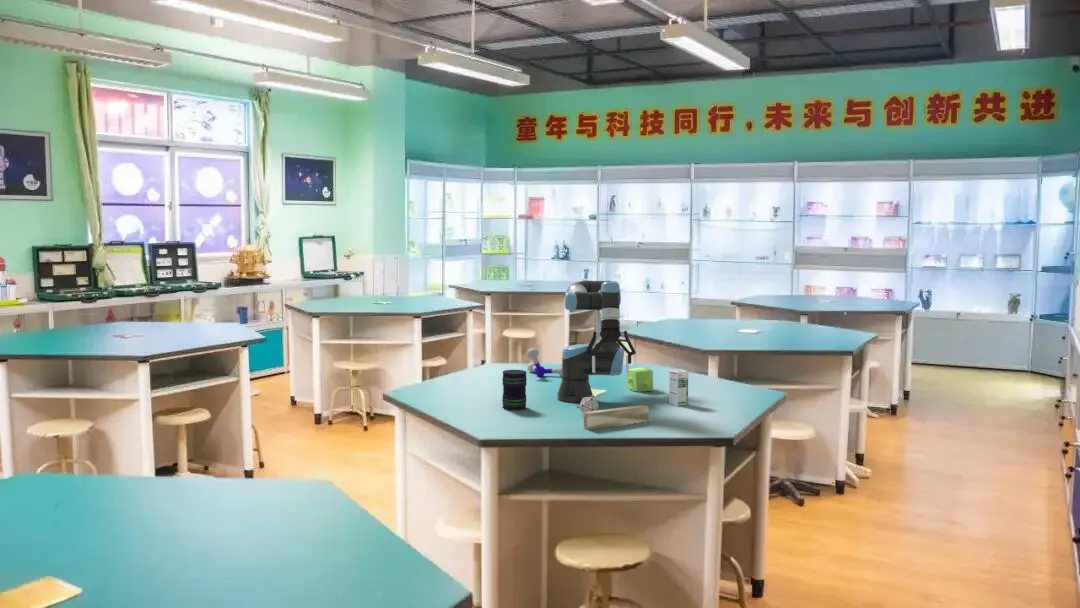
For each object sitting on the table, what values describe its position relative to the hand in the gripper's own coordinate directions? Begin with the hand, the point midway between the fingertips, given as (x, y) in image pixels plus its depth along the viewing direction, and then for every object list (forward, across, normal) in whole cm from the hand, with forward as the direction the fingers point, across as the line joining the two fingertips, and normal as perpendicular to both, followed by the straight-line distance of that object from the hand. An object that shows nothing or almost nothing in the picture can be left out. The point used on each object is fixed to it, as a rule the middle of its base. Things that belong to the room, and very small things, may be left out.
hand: (610, 372), depth 347 cm
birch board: (+22, +5, -17) cm, 28 cm away
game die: (+18, -8, -5) cm, 20 cm away
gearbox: (+2, +4, +54) cm, 54 cm away
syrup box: (+11, +25, +27) cm, 38 cm away
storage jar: (+14, -40, +1) cm, 42 cm away
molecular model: (-8, -43, +77) cm, 89 cm away
